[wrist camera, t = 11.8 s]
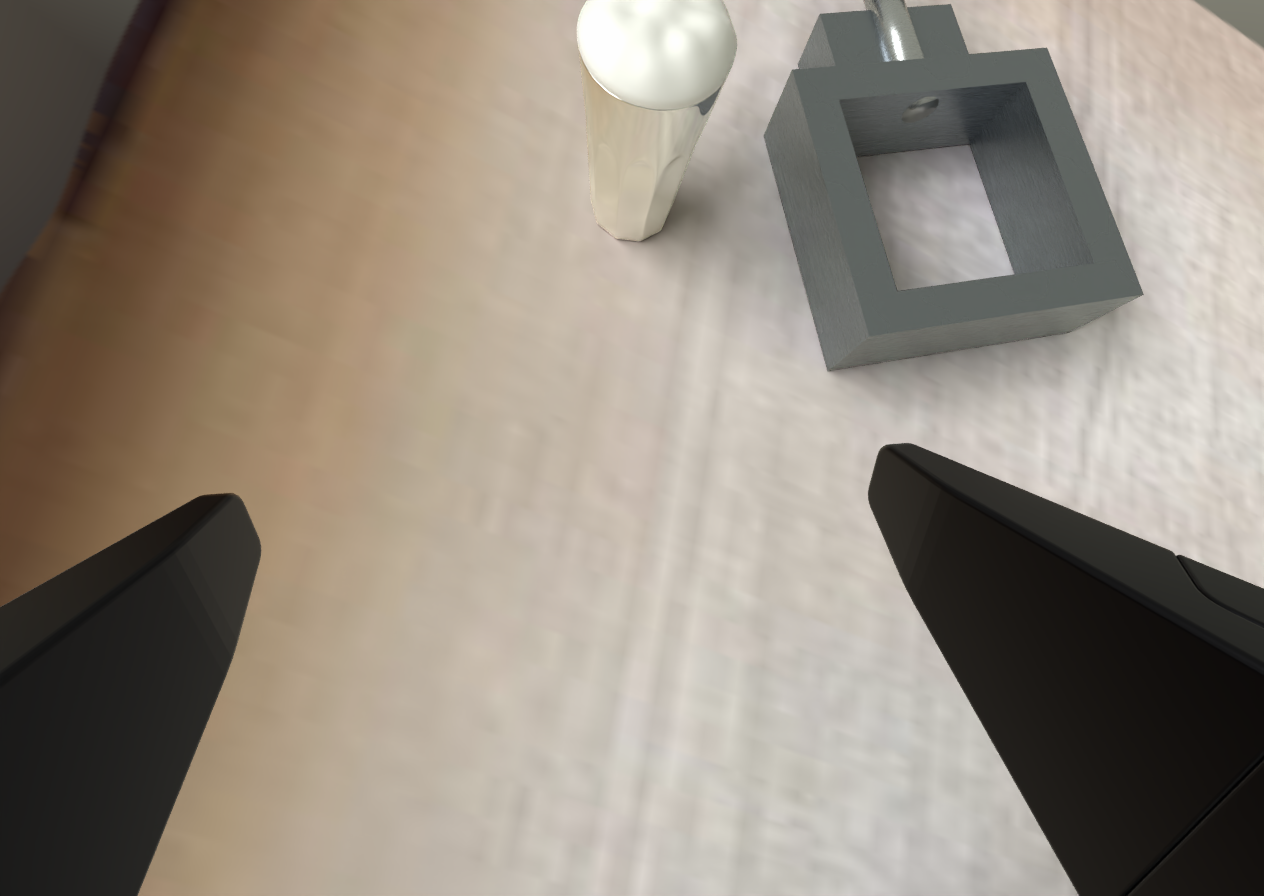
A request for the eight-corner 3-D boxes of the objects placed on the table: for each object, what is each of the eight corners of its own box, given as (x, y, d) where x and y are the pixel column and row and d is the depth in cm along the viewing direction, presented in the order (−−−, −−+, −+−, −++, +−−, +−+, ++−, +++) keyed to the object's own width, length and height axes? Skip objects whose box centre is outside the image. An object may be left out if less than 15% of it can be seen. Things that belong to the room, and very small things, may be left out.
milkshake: (706, 170, 26) (788, -80, 16) (661, 273, 25) (720, 71, 15) (608, 128, 26) (630, -147, 16) (557, 230, 24) (549, -2, 15)
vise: (1067, 332, 26) (1143, 294, 22) (827, 371, 24) (869, 336, 21) (951, 7, 29) (1001, -69, 26) (733, 23, 28) (756, -55, 24)
